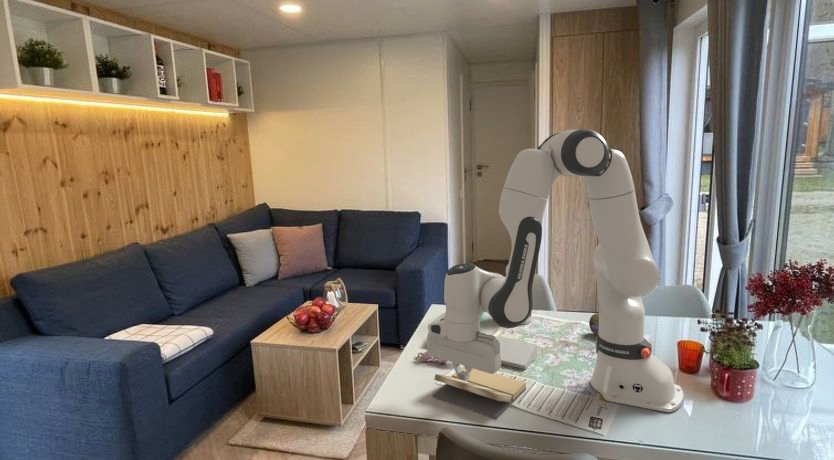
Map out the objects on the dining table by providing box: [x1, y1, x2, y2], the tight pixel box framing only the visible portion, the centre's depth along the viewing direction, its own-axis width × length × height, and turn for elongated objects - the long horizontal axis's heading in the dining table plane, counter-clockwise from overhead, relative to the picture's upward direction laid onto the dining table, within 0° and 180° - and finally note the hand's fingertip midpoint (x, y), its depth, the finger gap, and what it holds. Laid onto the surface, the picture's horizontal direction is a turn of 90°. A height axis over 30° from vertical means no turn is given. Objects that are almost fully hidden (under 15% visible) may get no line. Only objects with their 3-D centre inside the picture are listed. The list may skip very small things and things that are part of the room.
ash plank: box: [433, 374, 512, 402], centre depth 126 cm, size 19×8×2 cm, turn 53°
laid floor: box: [432, 365, 527, 420], centre depth 129 cm, size 19×17×2 cm
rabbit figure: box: [414, 351, 448, 364], centre depth 148 cm, size 6×6×15 cm
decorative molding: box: [425, 335, 538, 370], centre depth 154 cm, size 34×5×10 cm
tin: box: [588, 312, 599, 337], centre depth 159 cm, size 15×3×8 cm, turn 40°
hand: (463, 379), depth 123 cm, fingers closed
